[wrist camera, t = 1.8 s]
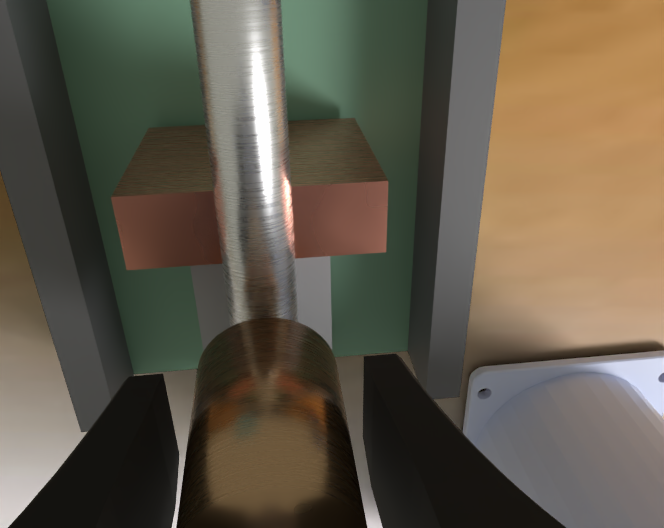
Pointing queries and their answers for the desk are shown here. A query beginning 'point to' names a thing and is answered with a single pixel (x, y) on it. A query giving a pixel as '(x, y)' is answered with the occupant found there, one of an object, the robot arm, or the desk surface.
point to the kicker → (257, 274)
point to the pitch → (187, 110)
